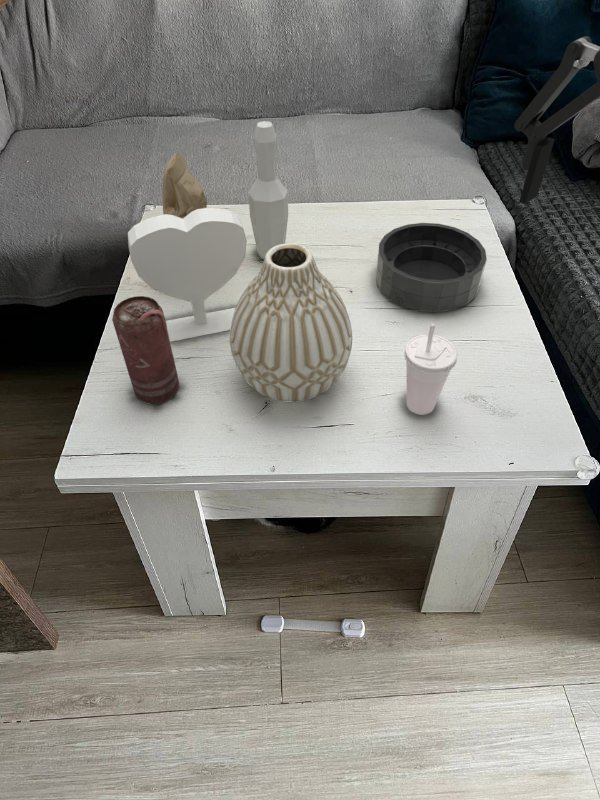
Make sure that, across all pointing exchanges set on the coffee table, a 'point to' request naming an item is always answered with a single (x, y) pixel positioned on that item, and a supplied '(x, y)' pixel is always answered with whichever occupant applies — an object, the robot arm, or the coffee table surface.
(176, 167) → the tan rock
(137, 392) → the can
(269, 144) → the low poly bottle
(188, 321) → the heart sculpture
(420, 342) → the smoothie
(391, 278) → the bowl
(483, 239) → the coffee table surface
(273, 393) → the vase
